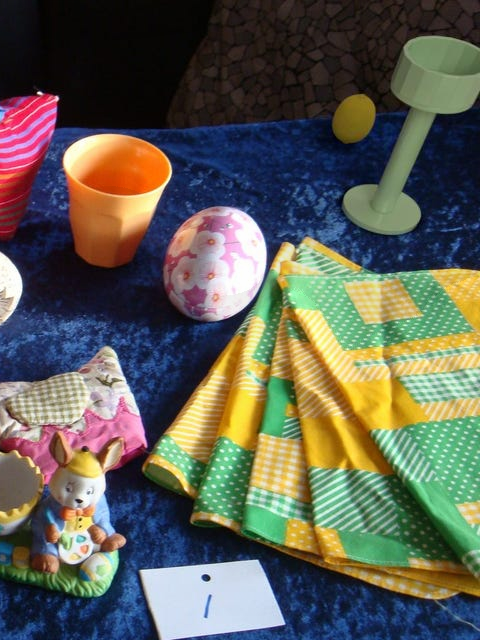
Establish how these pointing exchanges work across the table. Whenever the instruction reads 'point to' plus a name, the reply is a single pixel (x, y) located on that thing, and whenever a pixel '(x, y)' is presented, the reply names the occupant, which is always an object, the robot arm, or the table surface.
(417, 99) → the green goblet
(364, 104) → the lemon
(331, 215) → the table surface
